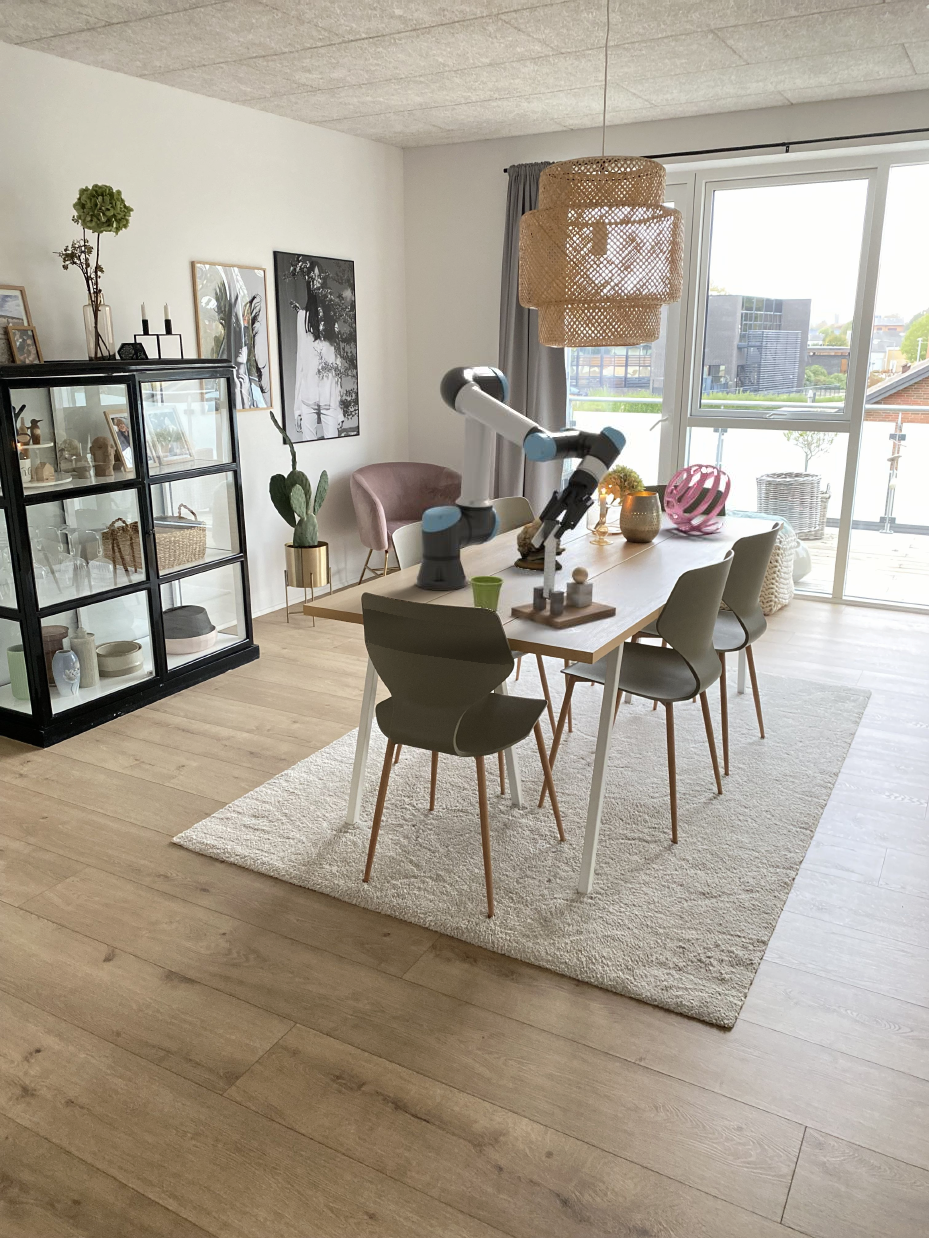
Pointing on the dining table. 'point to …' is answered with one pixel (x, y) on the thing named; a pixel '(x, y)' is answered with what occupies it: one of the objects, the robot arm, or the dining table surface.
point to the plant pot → (486, 591)
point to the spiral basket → (691, 495)
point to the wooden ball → (579, 574)
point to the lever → (549, 560)
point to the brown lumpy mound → (533, 549)
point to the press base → (564, 607)
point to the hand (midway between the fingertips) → (540, 545)
